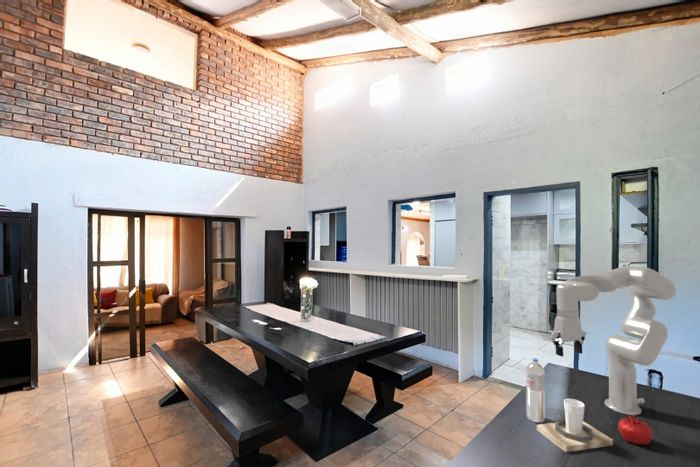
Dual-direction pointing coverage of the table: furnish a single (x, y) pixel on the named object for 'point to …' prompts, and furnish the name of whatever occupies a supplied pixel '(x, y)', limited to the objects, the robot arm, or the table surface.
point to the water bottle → (535, 392)
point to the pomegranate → (635, 431)
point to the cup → (574, 416)
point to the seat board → (573, 443)
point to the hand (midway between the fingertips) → (569, 353)
